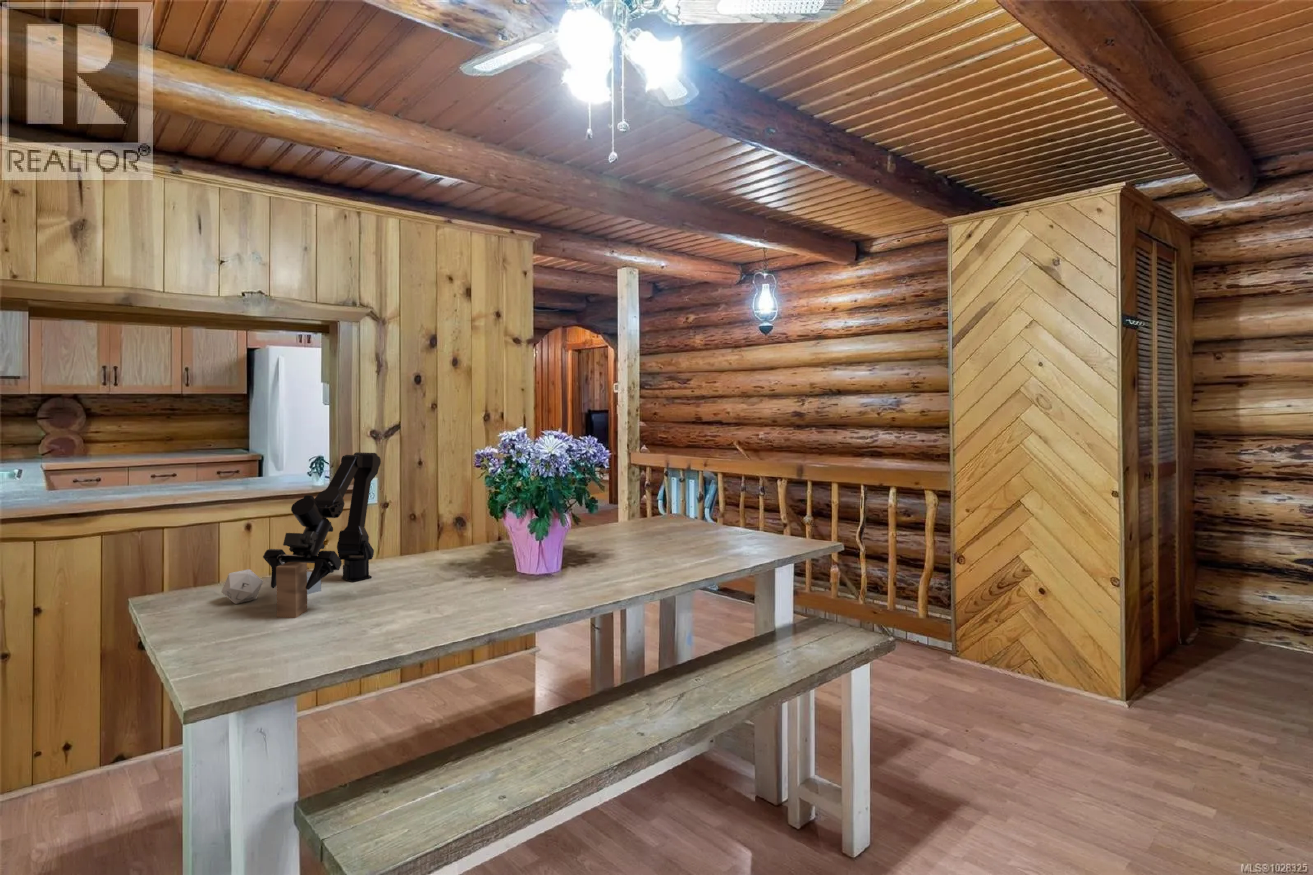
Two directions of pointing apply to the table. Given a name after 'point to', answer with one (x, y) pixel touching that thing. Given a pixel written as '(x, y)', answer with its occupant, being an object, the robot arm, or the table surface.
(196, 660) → the table surface
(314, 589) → the slate cube
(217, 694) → the table surface
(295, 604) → the walnut block
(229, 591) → the die
